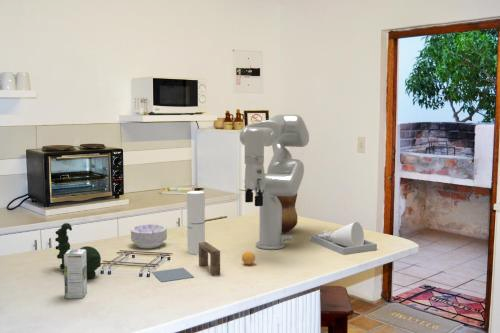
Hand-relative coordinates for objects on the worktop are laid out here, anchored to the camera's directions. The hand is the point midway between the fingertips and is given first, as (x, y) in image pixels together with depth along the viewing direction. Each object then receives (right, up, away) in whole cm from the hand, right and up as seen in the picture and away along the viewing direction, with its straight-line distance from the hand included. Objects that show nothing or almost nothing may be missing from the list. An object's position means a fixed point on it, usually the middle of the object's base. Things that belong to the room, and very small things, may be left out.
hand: (253, 204), depth 209 cm
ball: (-2, -20, -5) cm, 21 cm away
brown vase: (+15, -17, +49) cm, 54 cm away
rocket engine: (+39, -20, +24) cm, 50 cm away
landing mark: (-29, -24, -17) cm, 42 cm away
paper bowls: (-45, -20, +23) cm, 54 cm away
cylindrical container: (-24, -21, +13) cm, 34 cm away
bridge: (-16, -23, -11) cm, 31 cm away
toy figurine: (-63, -24, -16) cm, 69 cm away
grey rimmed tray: (+39, -20, +24) cm, 49 cm away
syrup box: (-57, -27, -38) cm, 73 cm away
